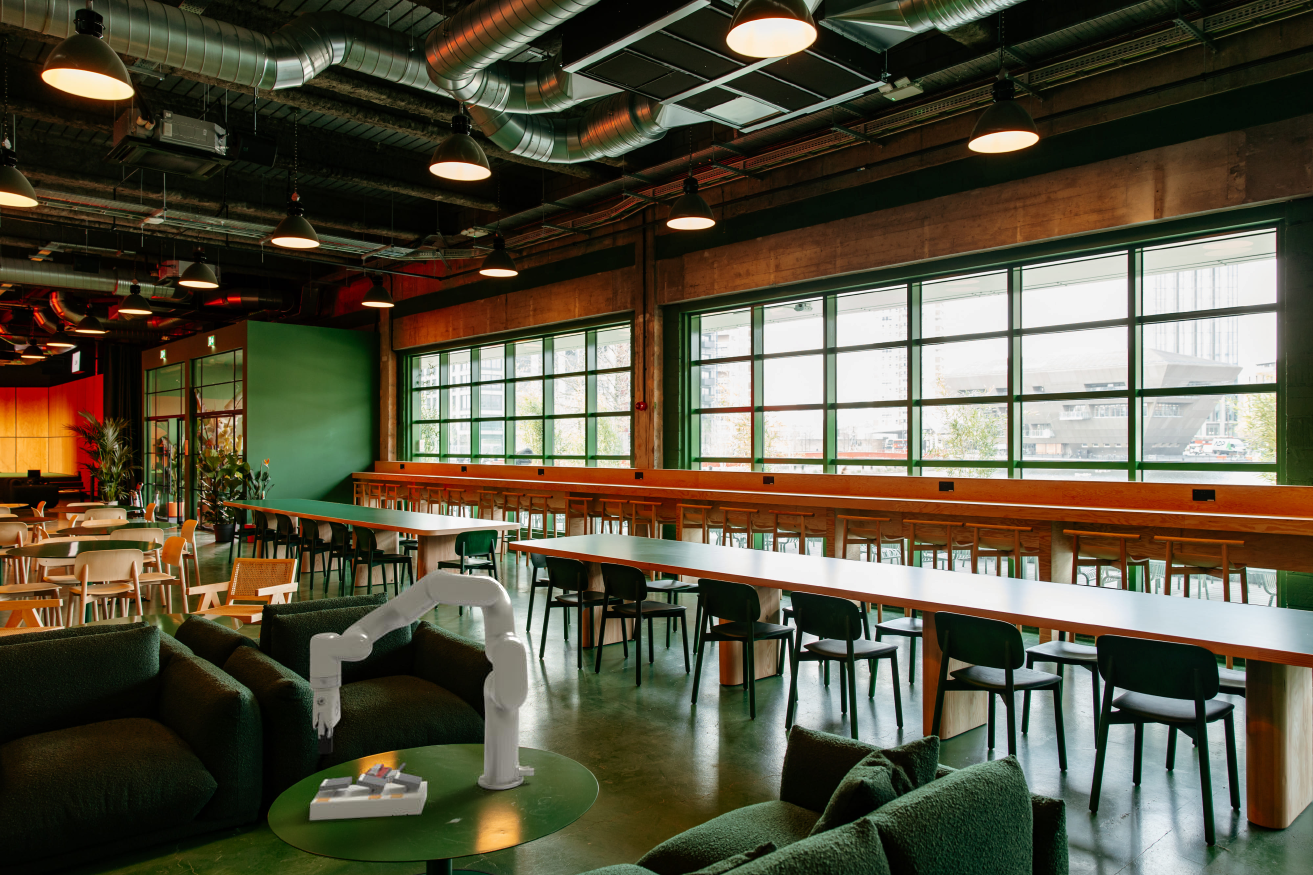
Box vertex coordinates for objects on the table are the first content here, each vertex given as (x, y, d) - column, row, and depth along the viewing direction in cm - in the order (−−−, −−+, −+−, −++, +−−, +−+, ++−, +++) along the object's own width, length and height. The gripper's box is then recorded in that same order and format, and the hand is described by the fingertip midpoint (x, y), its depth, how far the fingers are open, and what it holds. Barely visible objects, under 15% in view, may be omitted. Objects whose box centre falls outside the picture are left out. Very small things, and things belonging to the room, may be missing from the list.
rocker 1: (352, 780, 212) (351, 775, 212) (348, 787, 207) (347, 782, 207) (324, 784, 211) (324, 779, 211) (319, 791, 206) (319, 785, 206)
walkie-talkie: (384, 793, 220) (408, 768, 240) (385, 777, 221) (408, 753, 241) (352, 793, 220) (378, 768, 240) (353, 776, 221) (379, 753, 241)
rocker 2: (386, 783, 214) (387, 778, 214) (382, 790, 209) (384, 785, 209) (359, 777, 213) (361, 772, 213) (355, 784, 208) (357, 779, 208)
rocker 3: (421, 781, 215) (422, 776, 215) (418, 788, 210) (420, 783, 210) (395, 776, 214) (396, 771, 214) (392, 782, 209) (393, 777, 209)
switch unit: (426, 796, 217) (427, 775, 218) (420, 813, 206) (421, 792, 206) (321, 801, 213) (322, 780, 213) (309, 819, 201) (310, 797, 202)
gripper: (333, 687, 204) (334, 761, 203) (346, 673, 219) (347, 742, 218) (302, 689, 203) (302, 763, 202) (317, 675, 217) (317, 744, 216)
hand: (325, 752), depth 210 cm, fingers closed
